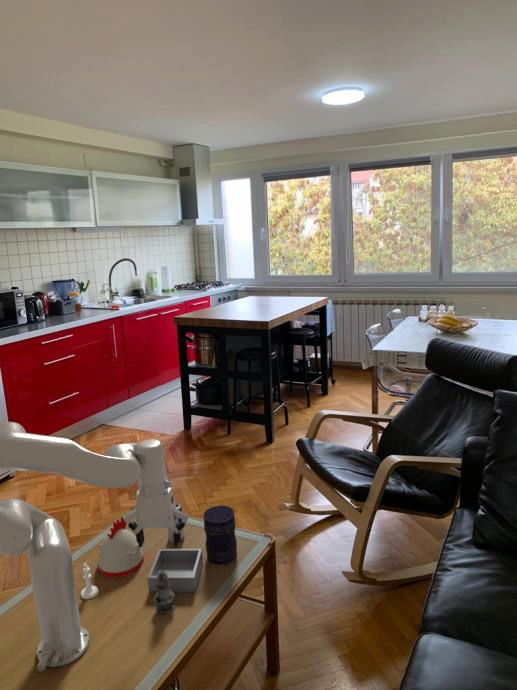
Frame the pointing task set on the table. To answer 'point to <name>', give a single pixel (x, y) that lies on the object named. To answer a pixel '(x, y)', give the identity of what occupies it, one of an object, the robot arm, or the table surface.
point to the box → (177, 569)
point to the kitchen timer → (119, 552)
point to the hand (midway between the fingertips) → (159, 544)
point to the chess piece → (88, 585)
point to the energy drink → (170, 531)
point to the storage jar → (220, 535)
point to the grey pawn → (164, 595)
